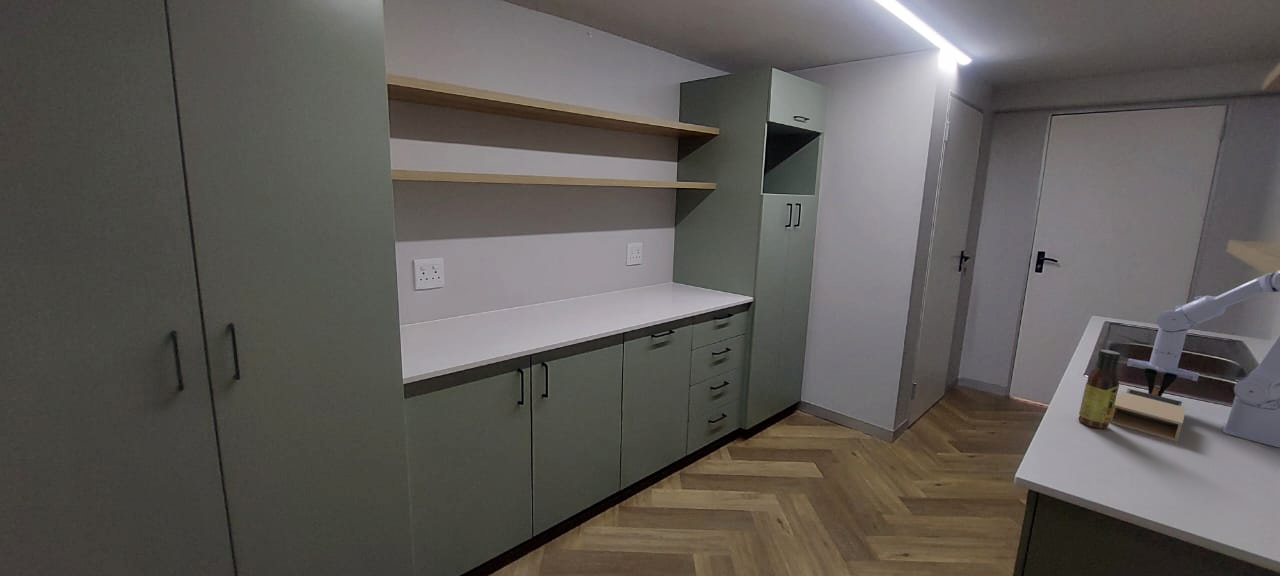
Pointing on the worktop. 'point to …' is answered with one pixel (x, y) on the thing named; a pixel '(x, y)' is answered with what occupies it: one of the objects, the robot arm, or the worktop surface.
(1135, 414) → the tray
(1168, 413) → the sleeve
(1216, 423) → the worktop surface
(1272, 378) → the robot arm
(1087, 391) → the sauce bottle
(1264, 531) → the worktop surface
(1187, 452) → the worktop surface
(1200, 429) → the worktop surface
